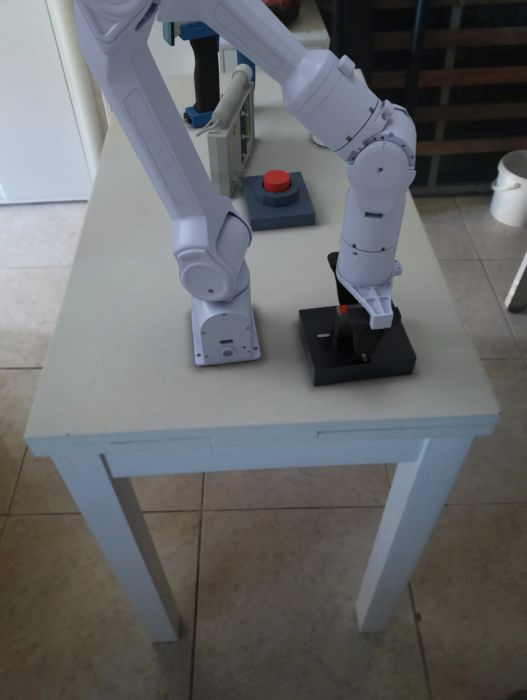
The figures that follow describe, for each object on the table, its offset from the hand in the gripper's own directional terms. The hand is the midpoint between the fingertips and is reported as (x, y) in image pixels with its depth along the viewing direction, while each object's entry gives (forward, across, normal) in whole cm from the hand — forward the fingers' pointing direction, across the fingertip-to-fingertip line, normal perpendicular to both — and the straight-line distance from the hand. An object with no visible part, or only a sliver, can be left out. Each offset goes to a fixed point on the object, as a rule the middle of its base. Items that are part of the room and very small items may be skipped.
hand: (355, 328), depth 68 cm
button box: (+4, +32, +4) cm, 33 cm away
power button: (0, +32, +5) cm, 32 cm away
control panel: (+4, 0, 0) cm, 4 cm away
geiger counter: (+4, +48, +10) cm, 49 cm away
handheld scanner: (+4, +64, +12) cm, 65 cm away
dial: (+1, 0, 0) cm, 1 cm away
